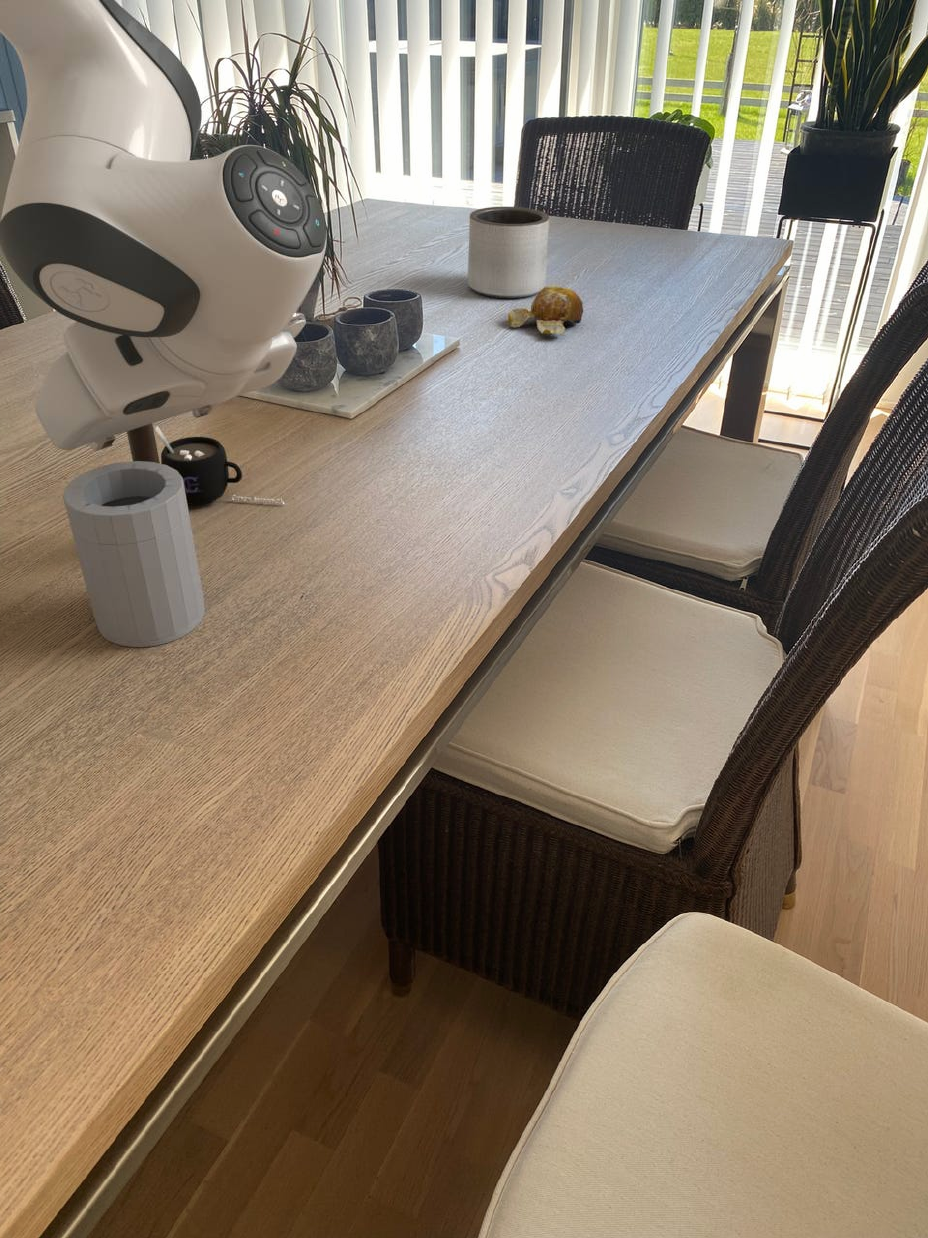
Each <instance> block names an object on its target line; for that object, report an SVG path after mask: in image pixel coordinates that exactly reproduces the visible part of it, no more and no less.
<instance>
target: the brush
mask: <svg viewBox="0 0 928 1238" xmlns="http://www.w3.org/2000/svg"><path fill="white" fill-rule="evenodd" d="M153 424H154V423H152V424H149V425H145V426H142V427H139V428H136V429H133V430H130V431H127V432H126V435H127V439H128V445H129V449H130V454H131V460H132V461H144V462H155V463H159V464H161V460H160V456H159V451H158V447H157V441H156V435H155V428H154V425H153Z"/></svg>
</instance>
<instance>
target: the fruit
mask: <svg viewBox="0 0 928 1238" xmlns="http://www.w3.org/2000/svg"><path fill="white" fill-rule="evenodd" d="M583 305H584V304H583V301H582V299H581V297H580V296H579V294H577V292H576V291H574V290H573V289H570V288H566V287H562V286H545V287H544V288H543V289H542V290H541V291H540V292H538V293H537V294H536V296H535V297H534V299H533V301H532V302H531V305H530V310H528V309H527V308H522V307H518V308H514V309H512V310H510V311H509V312H508V313H507V314H508V324H509V326H510V327H511V328H520V326H522V325H525V322H526V321H527V320H528V319H529V318H531V317H532V318H534V319H535V320H536V328H537V330H539V333H540V334H545V335H552V336H554V335H563V334H564V333H566V328H565V326H564V322H566V321H571V322H573V323H575V324H580V323H581V321H582V317H583V314H584V307H583Z"/></svg>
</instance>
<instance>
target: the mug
mask: <svg viewBox="0 0 928 1238" xmlns="http://www.w3.org/2000/svg"><path fill="white" fill-rule="evenodd" d="M154 431H155V432H156V433H157V434H158V436H159V438H160V439H161V441H162V442H163V443H164V445H165V446H164V447H163V449H162V451H161V453H160V464H164V465H167V466H169V467H171V468H173V469H175V470H177V471H178V473H179V474H180V475H181V476H182V478H183V482H184V488H185V494H186V500H187V505H206V504H209V503H212V502H214V501H216V500H219V498H221V497H222V496H223V495H224V493H225V492H226V490H227V488H228V486H229V485H228V484H237V483H239V482H240V481H241V480H242V478H243V473H242V470H241V468H240V466H239V465H238V464H237V463H235V462H232V461H228V458H227V456H228V455H227V452H226V449H225V447H224V446H223V444H222V443H221V442H220V441H219V440H217V439H214V438H213V437H212V438H211V437H207V436H188V437H187V436H186V437H183V438H178V439H176V440H174V441H173V440H172V441H171V442H169V441H168V439H167V438H166V437H165V435H164V433H163V432H162V430H161V429H160V427H159V425H156V426H155V427H154ZM229 468H232V469H234V471H235V472H236V476H235V477H230V472H229V471H230V470H229ZM234 497H235V498H234ZM230 498H231V500H232V501H237V502H238V501H239V502H248V503H251V501H252V499H253V503H262V505H264V504H275V505H285V502H284V499H282V497H281V498H278V499H274V498H265V497H264V498H261V497H260V498H259V497H257V496H253V498H252V499H251V497H248V496H244V497H243V496H237V494H232V495H231V497H230Z"/></svg>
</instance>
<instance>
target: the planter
mask: <svg viewBox="0 0 928 1238" xmlns="http://www.w3.org/2000/svg"><path fill="white" fill-rule="evenodd" d="M468 226H469V227H468V228H469V230H468V234H469V235H468V257H467V260H468V262H467V285H468V287H469V288H471V289H472V290H473V291H474V292H476V293H478V294H480V295H483V296H486V297H491V298H497V299H520V298H521V299H522V298H527V297H531V296H535V295H538V293H539V292H540V291H541V290H542V289H543V288H545V287H546V283H547V269H548V268H547V267H548V246H549V230H550V216H549V214H547V213H545V212H543V211H541V210H538V209H534V208H529V207H522V206H492V207H491V206H489V207H483V208H479V209H476V210H473V211H471V212H470V214H469V225H468Z"/></svg>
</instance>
